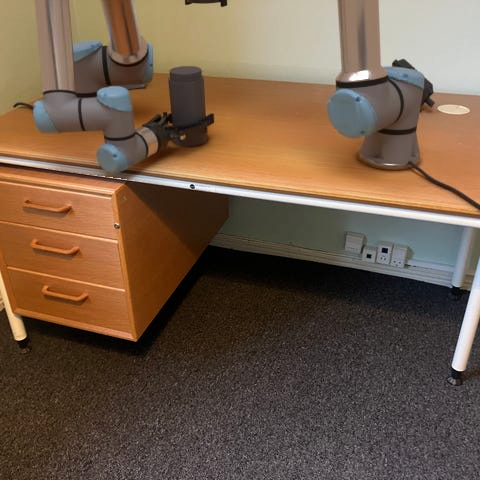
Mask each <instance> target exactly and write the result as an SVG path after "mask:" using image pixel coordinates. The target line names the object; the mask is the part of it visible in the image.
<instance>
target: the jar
mask: <svg viewBox="0 0 480 480" xmlns="http://www.w3.org/2000/svg"><path fill="white" fill-rule="evenodd" d="M202 73H203V70H202V68H201V67H199V66H193V65H181V66H176V67H172V68H171V69H169V77H168V78H167V81H168V92H169V104H170V113H171V117H172V124H171V125H176V124H178V125H185V124H190V123H195V122H199V121H198V120H199V119H201V118H203V117H205V116H207V113H206V112H207V111H206V110H207V109H206V92H205V91H206V90H205V89H206V88H205V77H204V75H203V74H202ZM175 129H176V134H177V128H175ZM207 141H208V133H205V134H202V135H199V136H196V137H193V138H190V139H188V140H186V141H184V142H180V140H179V139H174V140H173V143H174V144H175V145H177V146H180V147H198V146H201V145H203V144H205V143H207Z"/></svg>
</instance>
